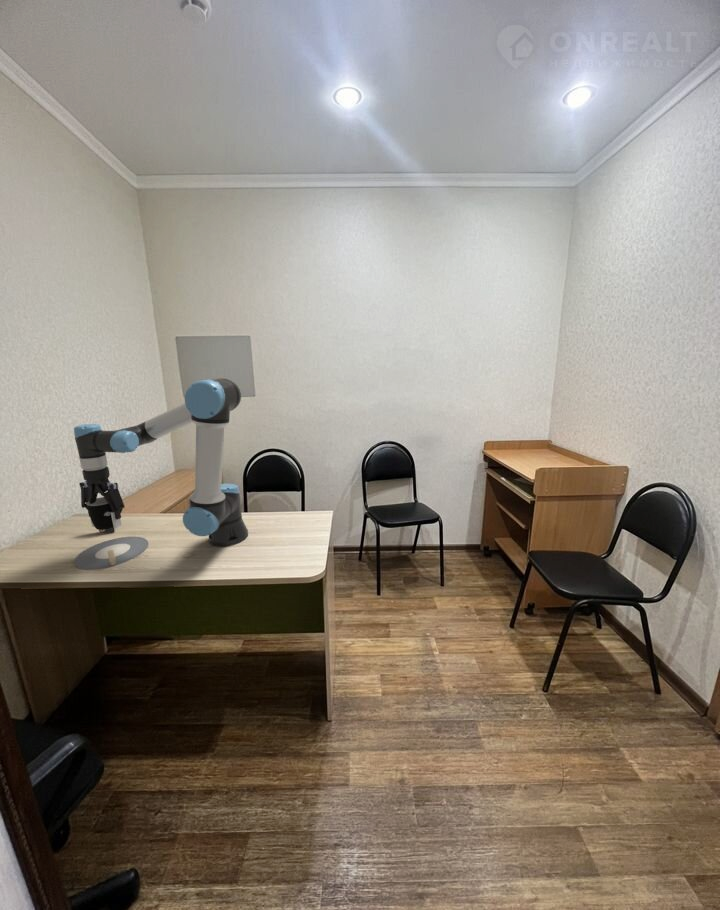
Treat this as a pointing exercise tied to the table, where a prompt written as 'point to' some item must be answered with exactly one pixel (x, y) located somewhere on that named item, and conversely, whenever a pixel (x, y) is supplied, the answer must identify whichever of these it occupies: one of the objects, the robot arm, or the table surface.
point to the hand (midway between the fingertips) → (106, 525)
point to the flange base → (104, 563)
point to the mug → (100, 514)
